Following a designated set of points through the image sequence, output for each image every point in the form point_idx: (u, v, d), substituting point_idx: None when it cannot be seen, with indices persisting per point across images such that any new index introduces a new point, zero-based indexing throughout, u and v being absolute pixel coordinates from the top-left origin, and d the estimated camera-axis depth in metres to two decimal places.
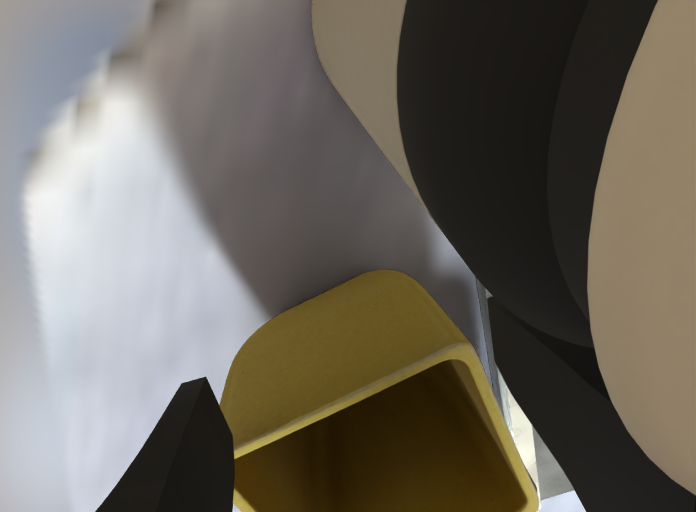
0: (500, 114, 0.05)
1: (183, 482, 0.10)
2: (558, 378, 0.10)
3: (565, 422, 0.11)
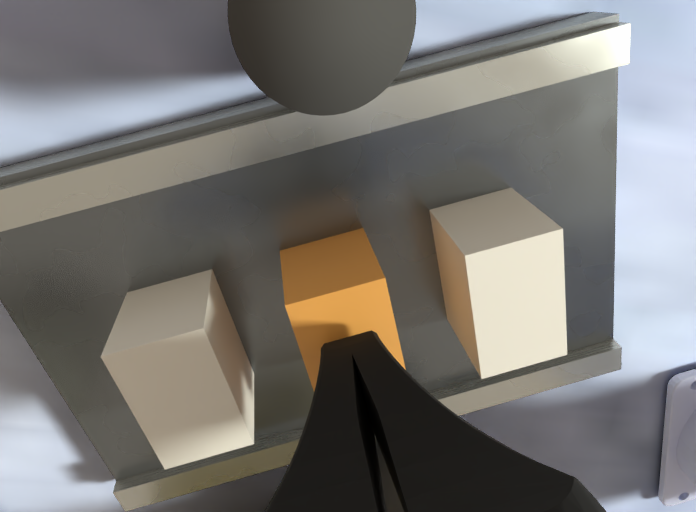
0: None
1: (362, 431, 0.10)
2: (382, 429, 0.10)
3: (393, 472, 0.10)
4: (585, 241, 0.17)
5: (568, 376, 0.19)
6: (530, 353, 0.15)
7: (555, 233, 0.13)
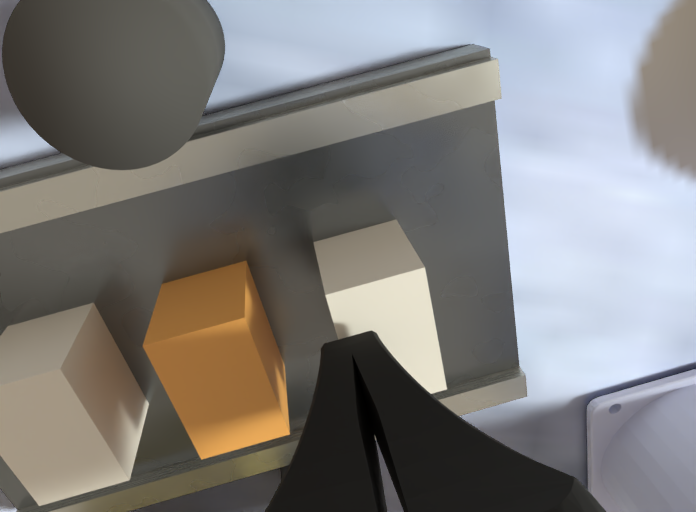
0: None
1: (362, 431, 0.10)
2: (382, 429, 0.10)
3: (393, 472, 0.10)
4: (479, 271, 0.17)
5: (473, 404, 0.19)
6: None
7: (417, 272, 0.13)
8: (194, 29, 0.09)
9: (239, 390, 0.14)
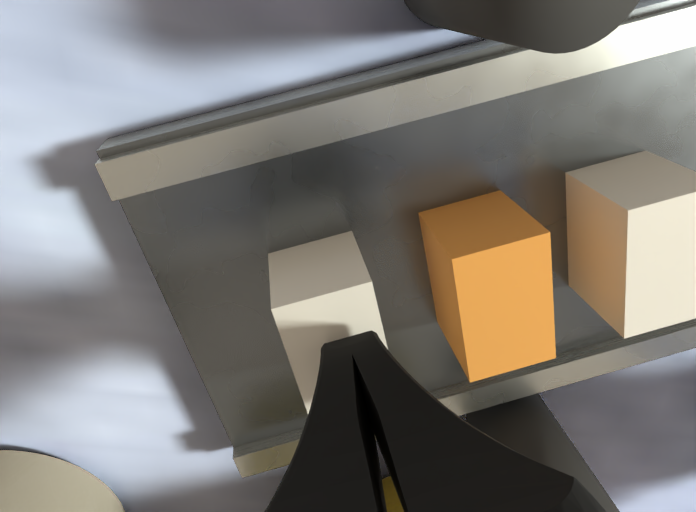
0: None
1: (363, 431, 0.10)
2: (381, 429, 0.10)
3: (393, 472, 0.10)
4: None
5: (680, 344, 0.19)
6: (674, 312, 0.15)
7: None
8: None
9: (524, 310, 0.14)
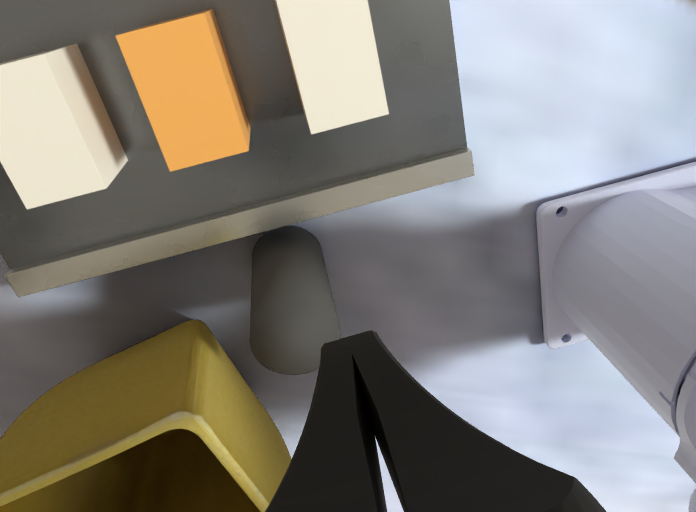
0: None
1: (362, 431, 0.10)
2: (382, 429, 0.10)
3: (393, 472, 0.10)
4: (425, 37, 0.19)
5: (424, 179, 0.21)
6: (353, 109, 0.17)
7: None
8: None
9: (201, 96, 0.16)
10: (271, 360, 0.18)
